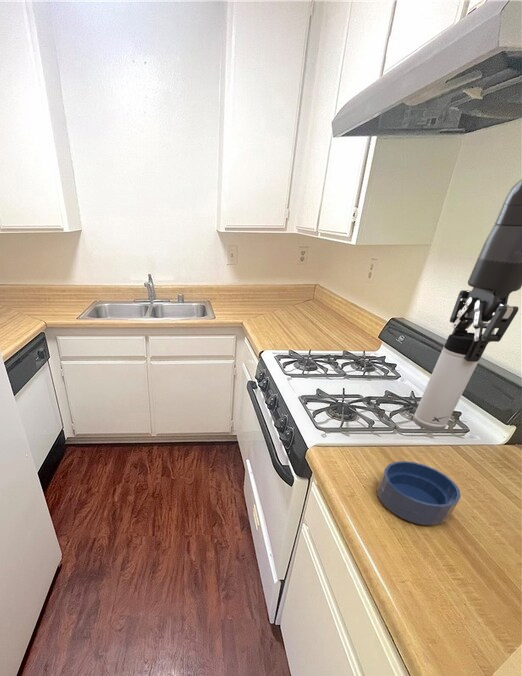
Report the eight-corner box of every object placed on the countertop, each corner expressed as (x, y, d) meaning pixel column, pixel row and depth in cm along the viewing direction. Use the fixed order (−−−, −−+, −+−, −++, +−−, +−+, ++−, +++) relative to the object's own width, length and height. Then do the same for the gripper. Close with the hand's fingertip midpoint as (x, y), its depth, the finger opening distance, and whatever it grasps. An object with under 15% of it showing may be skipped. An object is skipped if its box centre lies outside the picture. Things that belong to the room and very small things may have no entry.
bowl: (430, 484, 82) (441, 464, 78) (460, 531, 70) (474, 510, 67) (368, 478, 83) (376, 458, 80) (387, 522, 71) (397, 501, 68)
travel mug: (438, 435, 71) (485, 341, 60) (406, 421, 76) (445, 331, 65) (451, 426, 75) (498, 334, 63) (420, 413, 79) (459, 325, 68)
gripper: (563, 264, 51) (504, 370, 60) (504, 253, 63) (462, 343, 72) (508, 262, 52) (459, 367, 61) (460, 251, 64) (425, 341, 73)
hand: (461, 354), depth 66 cm, fingers closed on travel mug, 6 cm apart
